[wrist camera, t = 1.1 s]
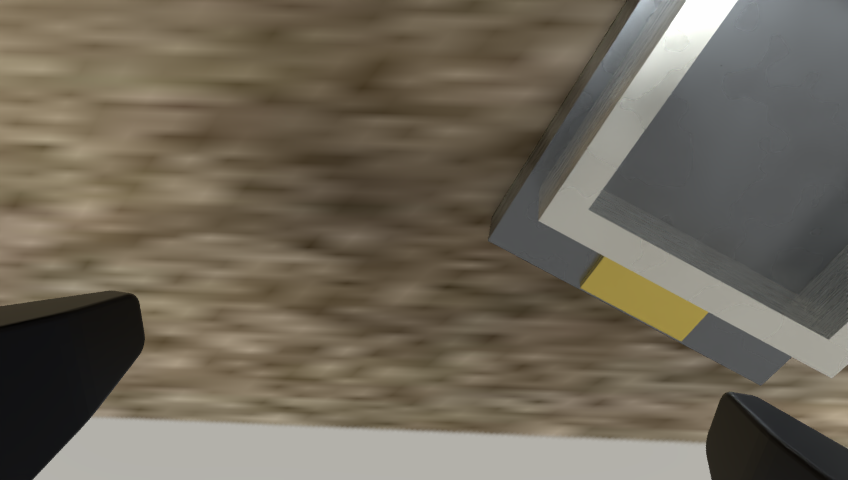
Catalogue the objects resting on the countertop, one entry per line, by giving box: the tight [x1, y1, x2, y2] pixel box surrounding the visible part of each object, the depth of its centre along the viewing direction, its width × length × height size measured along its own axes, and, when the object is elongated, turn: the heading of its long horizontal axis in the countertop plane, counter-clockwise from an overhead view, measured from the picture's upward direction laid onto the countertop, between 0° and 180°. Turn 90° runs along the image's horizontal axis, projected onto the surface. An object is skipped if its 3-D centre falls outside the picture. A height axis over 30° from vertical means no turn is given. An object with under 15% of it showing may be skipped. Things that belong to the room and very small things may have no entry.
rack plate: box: [488, 0, 848, 385], centre depth 18 cm, size 13×11×4 cm
